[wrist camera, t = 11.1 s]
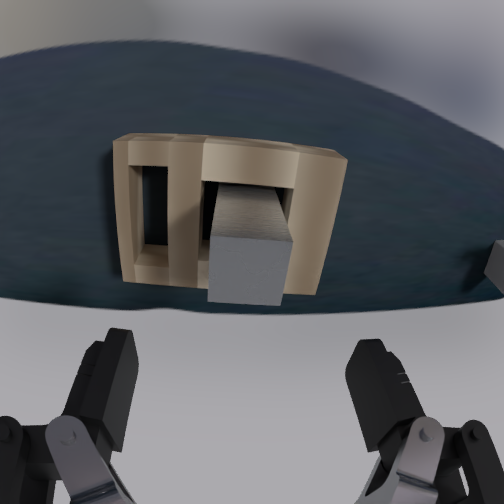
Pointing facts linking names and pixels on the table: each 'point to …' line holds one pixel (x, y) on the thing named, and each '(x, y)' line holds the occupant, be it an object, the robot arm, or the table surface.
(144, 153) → the holder
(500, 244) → the lighter
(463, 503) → the robot arm
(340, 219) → the table surface
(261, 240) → the grey rectangular block
